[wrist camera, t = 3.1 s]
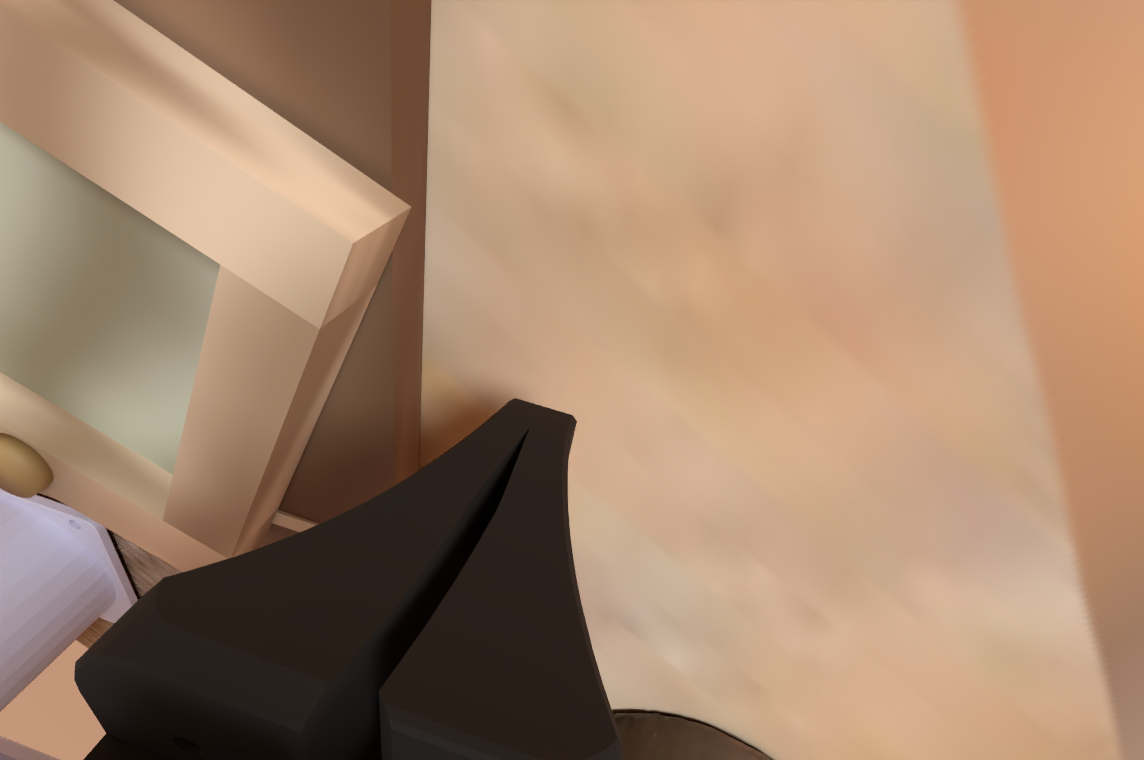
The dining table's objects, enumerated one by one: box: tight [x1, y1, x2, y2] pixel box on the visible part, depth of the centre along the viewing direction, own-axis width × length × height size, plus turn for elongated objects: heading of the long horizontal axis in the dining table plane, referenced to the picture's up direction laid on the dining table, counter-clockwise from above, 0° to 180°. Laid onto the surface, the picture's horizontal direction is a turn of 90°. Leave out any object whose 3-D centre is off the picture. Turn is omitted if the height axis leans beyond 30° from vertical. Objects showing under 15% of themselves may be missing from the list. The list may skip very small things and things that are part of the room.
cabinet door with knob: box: [0, 0, 411, 572], centre depth 13 cm, size 12×13×2 cm
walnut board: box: [38, 0, 431, 549], centre depth 15 cm, size 16×20×2 cm
